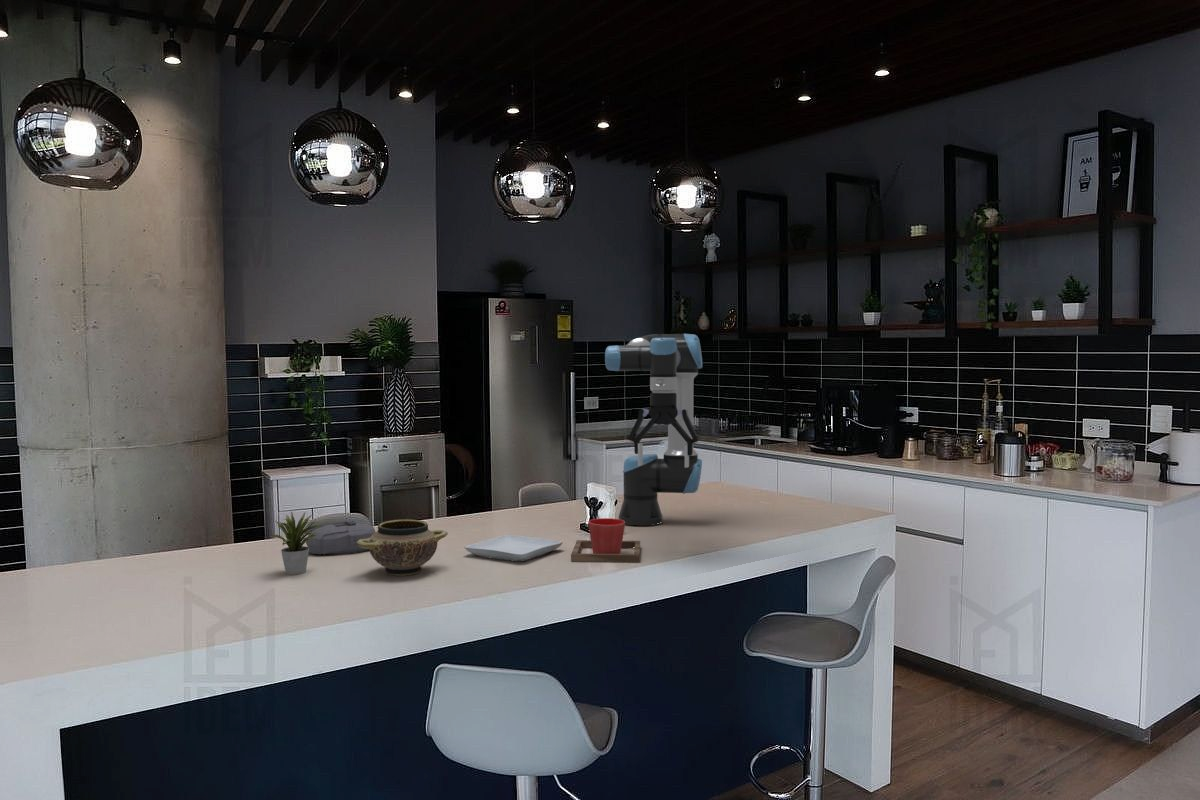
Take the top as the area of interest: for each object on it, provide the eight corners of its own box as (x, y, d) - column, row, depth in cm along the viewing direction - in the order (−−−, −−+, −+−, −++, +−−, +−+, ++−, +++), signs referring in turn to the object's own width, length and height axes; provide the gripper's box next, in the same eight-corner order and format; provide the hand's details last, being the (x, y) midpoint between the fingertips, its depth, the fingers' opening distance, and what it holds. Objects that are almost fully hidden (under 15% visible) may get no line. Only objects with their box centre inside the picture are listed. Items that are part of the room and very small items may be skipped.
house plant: (312, 580, 222) (311, 517, 221) (259, 580, 223) (257, 517, 222) (330, 566, 236) (329, 507, 236) (280, 566, 237) (279, 507, 236)
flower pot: (626, 550, 255) (626, 517, 255) (623, 559, 244) (623, 525, 244) (590, 550, 256) (590, 517, 256) (586, 558, 246) (586, 524, 245)
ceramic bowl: (362, 593, 219) (365, 539, 215) (347, 562, 234) (350, 511, 230) (455, 582, 231) (459, 530, 227) (436, 552, 246) (439, 504, 242)
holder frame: (576, 546, 261) (576, 540, 260) (640, 547, 259) (640, 540, 259) (571, 561, 242) (570, 554, 241) (639, 562, 240) (639, 555, 240)
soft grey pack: (368, 542, 269) (301, 549, 259) (367, 515, 268) (300, 521, 258) (381, 551, 256) (311, 559, 246) (381, 523, 255) (310, 530, 245)
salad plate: (506, 544, 267) (506, 533, 267) (564, 551, 256) (564, 540, 256) (462, 557, 249) (462, 545, 248) (522, 566, 238) (522, 554, 237)
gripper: (617, 392, 247) (617, 466, 248) (704, 392, 240) (704, 469, 241) (624, 391, 254) (624, 463, 255) (709, 391, 247) (708, 466, 248)
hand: (663, 466), depth 248 cm, fingers open, 13 cm apart
